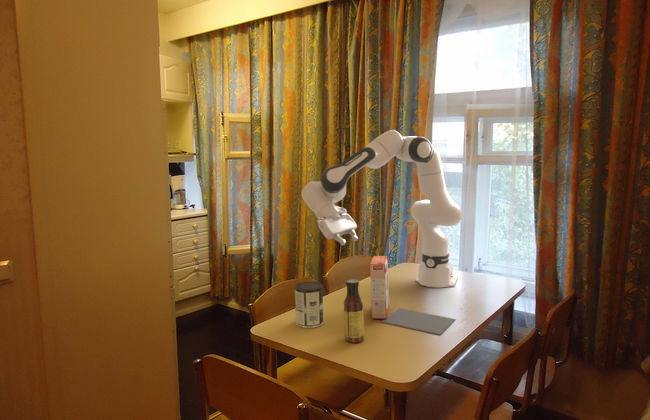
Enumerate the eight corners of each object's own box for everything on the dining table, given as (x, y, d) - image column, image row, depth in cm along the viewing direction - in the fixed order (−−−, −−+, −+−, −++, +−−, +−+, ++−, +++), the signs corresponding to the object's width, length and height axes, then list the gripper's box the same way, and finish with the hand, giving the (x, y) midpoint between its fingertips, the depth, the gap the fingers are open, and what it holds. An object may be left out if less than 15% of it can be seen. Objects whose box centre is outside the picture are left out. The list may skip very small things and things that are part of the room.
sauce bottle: (367, 339, 142) (367, 280, 140) (356, 345, 138) (355, 285, 135) (352, 334, 147) (351, 277, 144) (340, 340, 142) (339, 281, 139)
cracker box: (388, 319, 158) (385, 263, 156) (371, 319, 159) (368, 263, 157) (390, 307, 171) (387, 255, 169) (374, 306, 173) (372, 255, 170)
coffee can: (310, 315, 164) (309, 279, 162) (329, 322, 157) (328, 285, 155) (289, 323, 157) (288, 285, 155) (308, 330, 150) (307, 291, 148)
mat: (399, 309, 170) (399, 308, 169) (455, 320, 157) (455, 319, 157) (381, 322, 156) (381, 321, 156) (440, 335, 144) (440, 334, 144)
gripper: (319, 213, 163) (341, 241, 159) (346, 207, 180) (367, 233, 176) (310, 224, 166) (331, 251, 162) (338, 217, 183) (358, 242, 179)
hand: (350, 242), depth 169 cm, fingers open, 8 cm apart
